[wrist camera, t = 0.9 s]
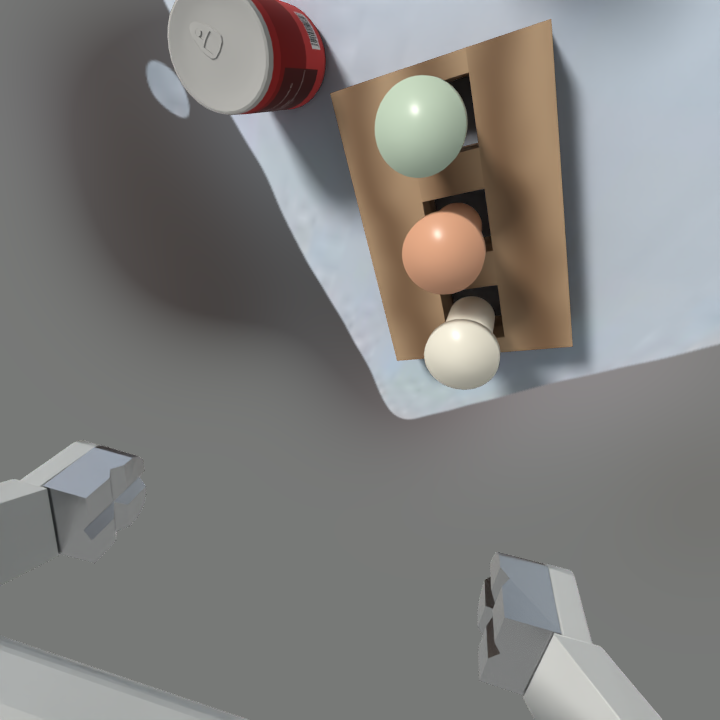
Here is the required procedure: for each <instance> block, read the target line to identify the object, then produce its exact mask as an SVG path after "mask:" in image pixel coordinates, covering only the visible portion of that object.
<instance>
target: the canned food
mask: <svg viewBox="0 0 720 720" xmlns="http://www.w3.org/2000/svg"><path fill="white" fill-rule="evenodd" d="M168 46H169V52H170V56H171V60H172V63H173V66H174V69H175V71H176V74H177V76H178V77H179V79H180V81H181V83H182V84H183V86H184V87H185V89H186V90H187V91H188V93H189V94H190V95H191V96H192V97H193V98H194V99H195V100H196V101H197V102H198V103H200V104H201V105H203V106H204V107H206V108H207V109H209V110H212V111H214V112H216V113H221V114H228V115H238V114H251V113H260V112H269V111H278V110H287V109H295V108H298V107H301V106H303V105H304V104H306V103H308V102H309V101H310V100H311V99H312V98H313V97H314V95H315V94H316V92H317V91H318V89H319V88H320V86H321V83H322V81H323V78H324V73H325V64H326V59H325V50H324V46H323V43H322V39H321V37H320V35H319V33H318V31H317V29H316V27H315V26H314V24H313V23H312V21H311V20H310V19H309V18H308V17H307V16H306V14H305V13H304V12H302V11H301V10H299V9H298V8H297V7H295V6H293V5H290V4H288V3H285V2H282V1H279V0H175V2H174V5H173V7H172V10H171V12H170V17H169V22H168Z"/></svg>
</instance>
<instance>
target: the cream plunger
mask: <svg viewBox="0 0 720 720" xmlns="http://www.w3.org/2000/svg"><path fill="white" fill-rule="evenodd" d="M494 322H495V313H494V310H493V308H492V306H491V305H490V304H489V303H488V302H487V301H486V300H484V299H482V298H479V297H475V296H468V297H464V298H461V299H459V300H458V301H456V302H455V303H454V304H453V305H452V307H451V309H450V312H449V314H448V317H447V320H446V322H445V323H443V324H441V325H439V326H438V327H437V328H436V329H435V330H434V331H433V332H432V333H431V335H430V337H429V339H428V341H427V344H426V347H425V351H424V359H425V363H426V366H427V368H428V370H429V372H430V373H431V374H432V376H433V377H434V378H435V379H436V380H438V381H439V382H440V383H442V384H444V385H446V386H448V387H451V388H455V389H462V390H467V389H474V388H477V387H480V386H482V385H484V384H486V383H487V382H489V381H490V380H491V379H492V378H493V376H494V375H495V374H496V372H497V370H498V367H499V361H500V346H499V343H498V340H497V339H496V337H495V335H494V334H493V328H494Z"/></svg>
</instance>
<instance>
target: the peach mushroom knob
mask: <svg viewBox="0 0 720 720" xmlns="http://www.w3.org/2000/svg"><path fill="white" fill-rule="evenodd" d="M481 232H482V221H481V218H480V216H479V214H478V213H477V211H476V210H475V209H474V208H473V207H471V206H469V205H467V204H464V203H452V204H448V205H446V206H445V207H443V208H442V209H441V210H440V211H437V212H433V213H430V214H428V215H426V216H424V217H423V218H421V219H420V220H419V221H418V222H417V223H416V224H415V225H414V226H413V227H412V228H411V230H410V231H409V232H408V234H407V236H406V238H405V240H404V243H403V248H402V260H403V264H404V268H405V270H406V272H407V274H408V276H409V277H410V278H411V280H412V281H413V282H414V283H415V284H416V285H418V286H419V287H420V288H422V289H424V290H426V291H428V292H431V293H434V294H443V295H445V294H453V293H456V292H459V291H461V290H464V289H465V288H467V287H468V286H469V285H471V284H472V283H473V282H474V281H475V280H476V278H477V277H478V275H479V274H480V272H481V270H482V267H483V264H484V260H485V254H486V246H485V241H484V237H483V235H482V233H481Z"/></svg>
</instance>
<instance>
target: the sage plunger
mask: <svg viewBox="0 0 720 720" xmlns="http://www.w3.org/2000/svg"><path fill="white" fill-rule="evenodd" d="M467 126H468V120H467V112H466V108H465V105H464V102H463V100H462V98H461V96H460V95H459V93H458V92H457V91H456V89H455V88H454V87H453V86H452V85H450V84H449V83H448V82H446V81H444V80H443V79H440V78H438V77H434V76H427V75H418V76H412V77H409V78H406V79H404V80H402V81H400V82H399V83H397V84H396V85H395V86H393V87H392V88H391V89H390V90H389V91H388V93H387V94H386V95H385V96H384V98H383V100H382V102H381V103H380V106H379V108H378V111H377V114H376V119H375V138H376V143H377V147H378V149H379V152H380V154H381V155H382V157H383V159H384V160H385V161H386V163H387V164H388V165H389V166H390V167H391V168H392V169H394V170H395V171H396V172H398V173H400V174H402V175H404V176H408V177H412V178H424V177H429V176H432V175H435V174H437V173H439V172H440V171H442V170H444V169H445V168H446V167H447V166H448V165H449V164H450V163H451V162H452V161H453V160H454V159H455V158H456V157H457V155H458V154H459V152H460V150H461V149H462V147H463V144H464V142H465V138H466V134H467Z"/></svg>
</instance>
